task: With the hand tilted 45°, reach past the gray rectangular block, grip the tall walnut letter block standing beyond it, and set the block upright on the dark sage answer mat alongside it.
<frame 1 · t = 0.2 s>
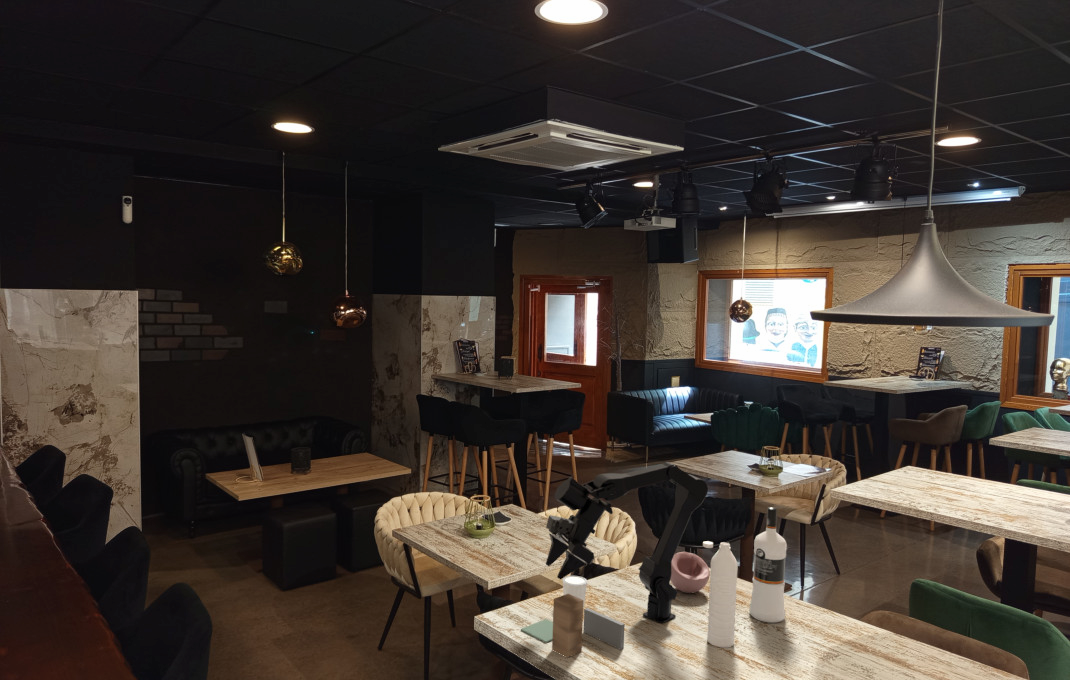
hand: (552, 571, 181), 15 cm above the table, tool tilted 35°, fingers open, 9 cm apart
pink rounded bowl: (687, 592, 209), on the table
answer mat: (546, 631, 179), on the table
vodka: (766, 617, 193), on the table
white short cylinder: (573, 605, 196), on the table
water bottle: (716, 642, 177), on the table
gray rectangular block: (603, 640, 176), on the table
letter block: (566, 650, 170), on the table
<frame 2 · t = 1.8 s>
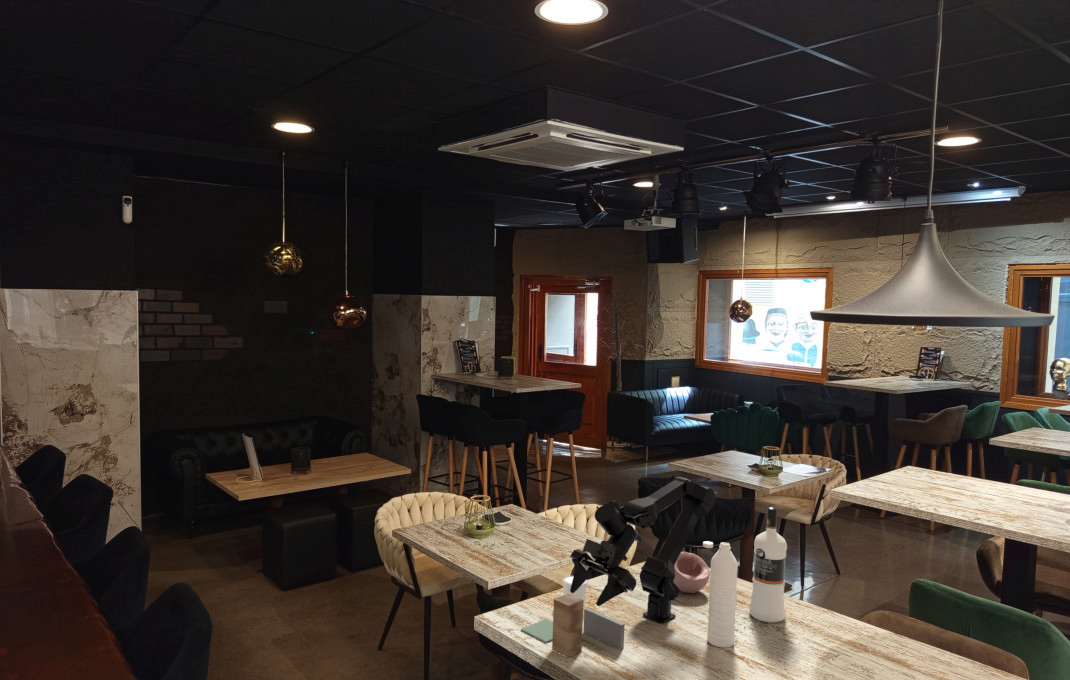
hand: (584, 598, 172), 11 cm above the table, tool tilted 45°, fingers open, 9 cm apart
nothing on the table moved.
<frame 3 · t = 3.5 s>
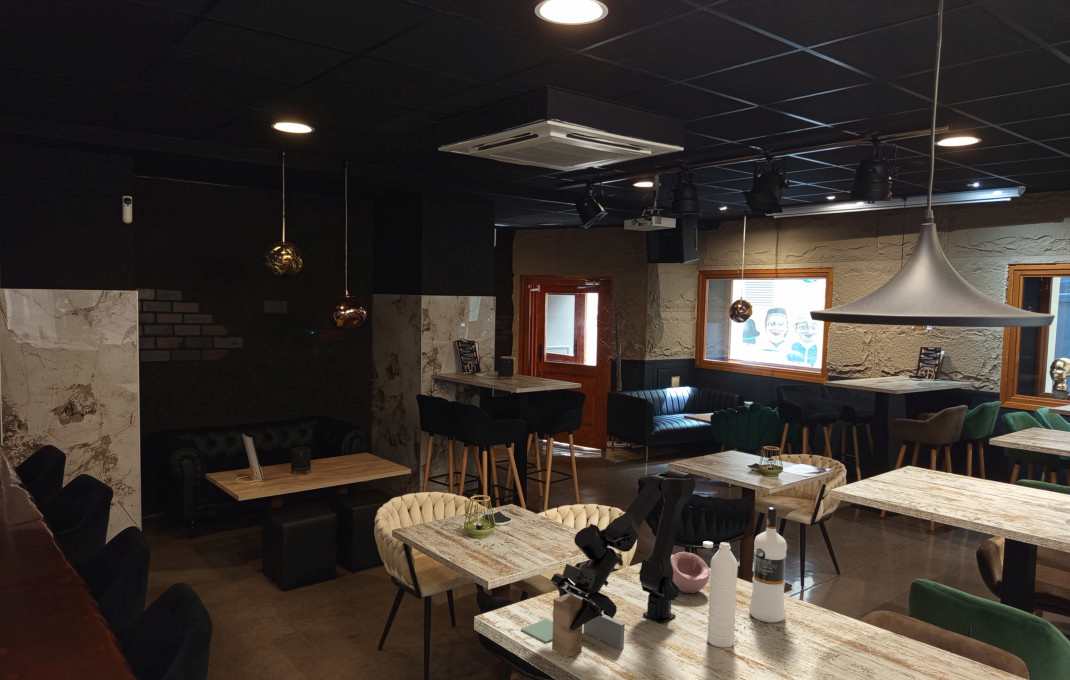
hand: (563, 625, 168), 7 cm above the table, tool tilted 45°, fingers closed on letter block, 5 cm apart
letter block: (566, 650, 170), on the table, touching gripper
everything else where it was.
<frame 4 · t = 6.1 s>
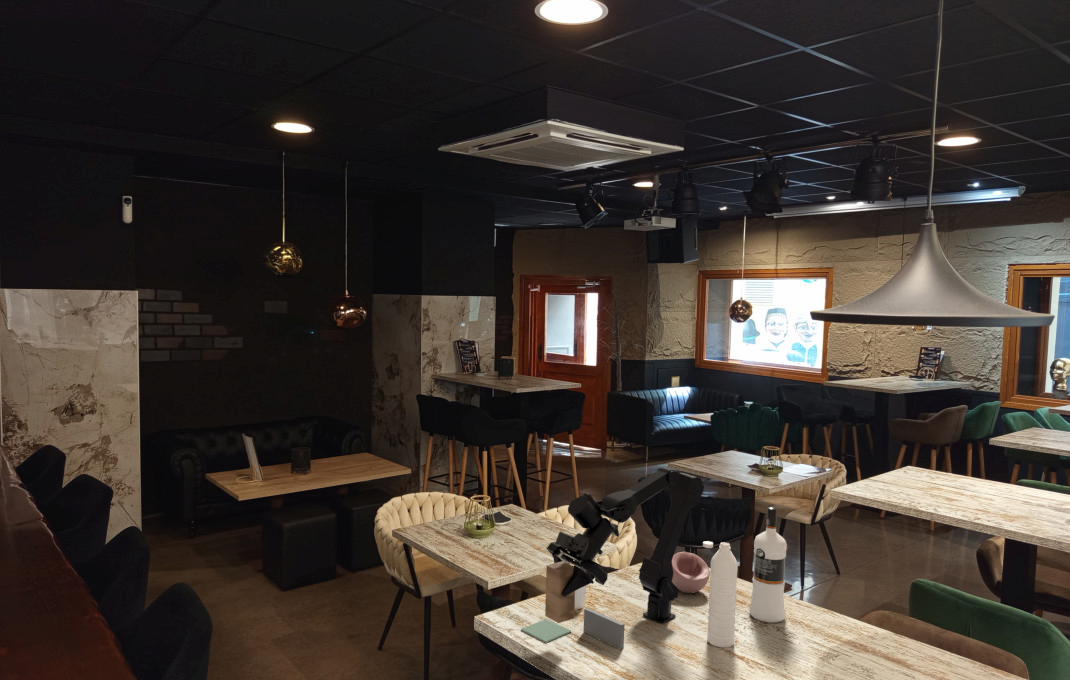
hand: (555, 591, 171), 13 cm above the table, tool tilted 45°, fingers closed on letter block, 5 cm apart
letter block: (559, 617, 172), point 7 cm above the table, touching gripper
everything else where it was.
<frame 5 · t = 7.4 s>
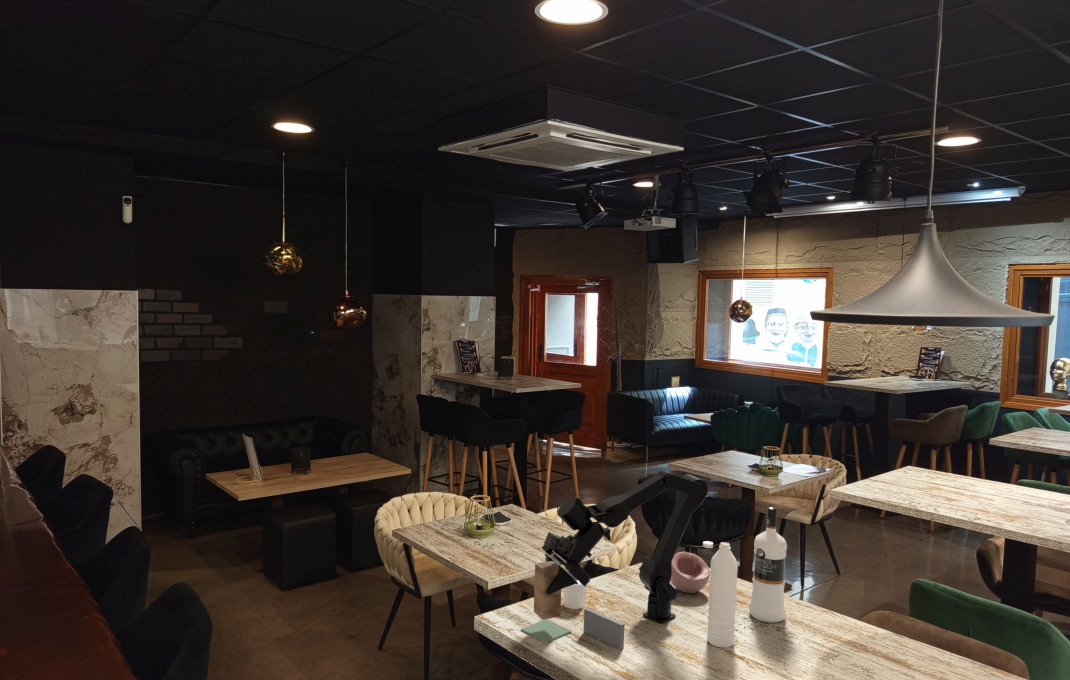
hand: (542, 589, 179), 11 cm above the table, tool tilted 45°, fingers closed on letter block, 5 cm apart
letter block: (547, 614, 179), point 4 cm above the table, touching gripper
everything else where it was.
when the fingers open (8 cm above the table, at t = 8.4 s): letter block stays where it is, resting on answer mat.
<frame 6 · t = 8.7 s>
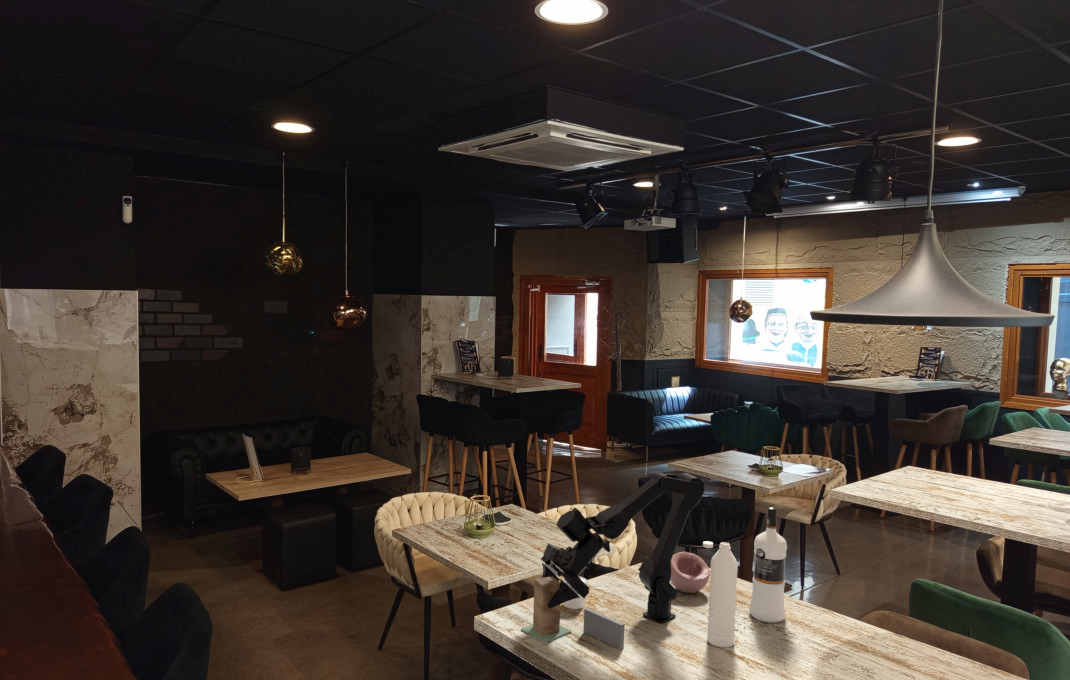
hand: (542, 600, 179), 8 cm above the table, tool tilted 45°, fingers open, 8 cm apart
letter block: (546, 629, 179), resting on answer mat
everything else where it was.
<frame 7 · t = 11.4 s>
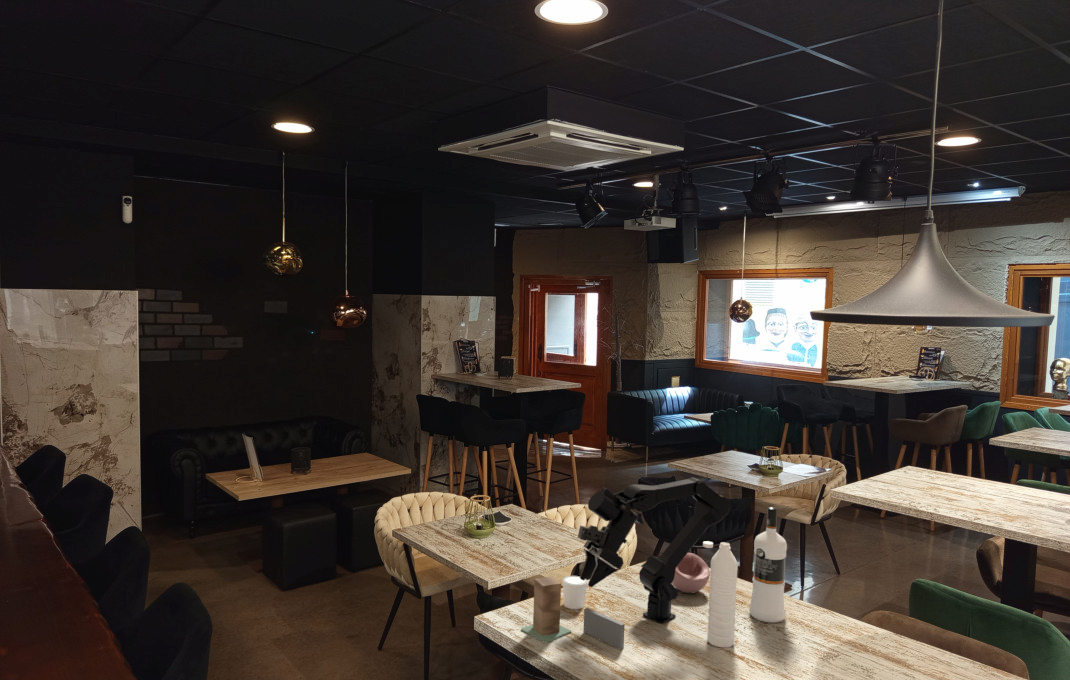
hand: (585, 582, 181), 12 cm above the table, tool tilted 35°, fingers open, 9 cm apart
nothing on the table moved.
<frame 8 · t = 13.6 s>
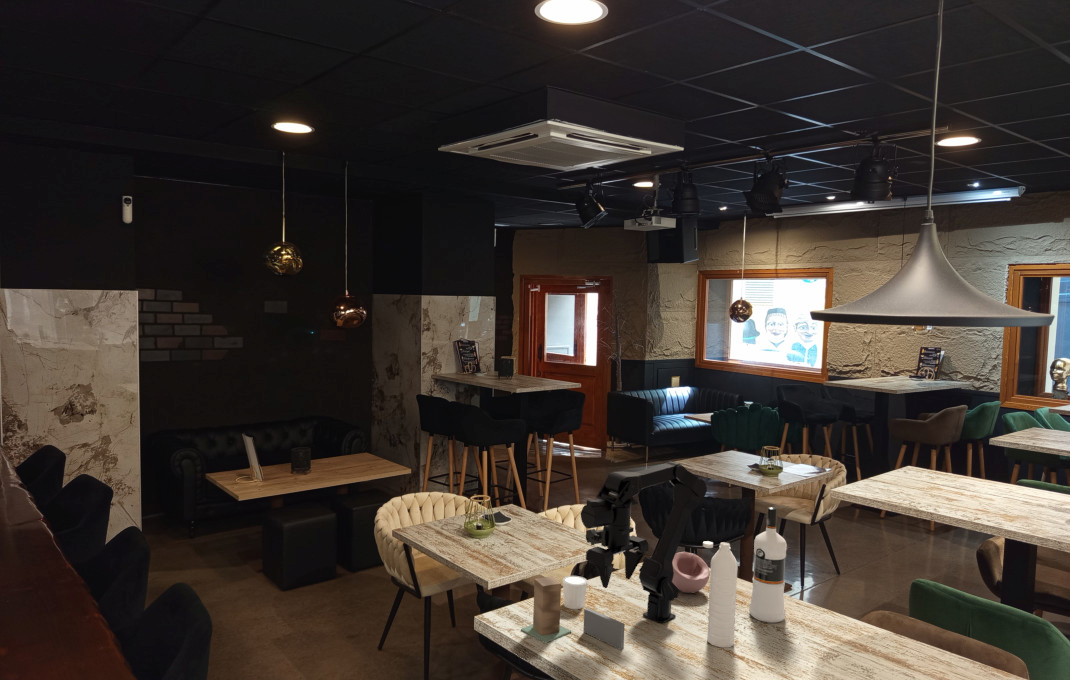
hand: (616, 583, 182), 12 cm above the table, tool pointing down, fingers open, 9 cm apart
nothing on the table moved.
at the end: letter block 0.0 cm off-centre on the answer mat, point 0.4 cm above the answer mat's base; letter block tilted 0°; the gripper is holding nothing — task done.
